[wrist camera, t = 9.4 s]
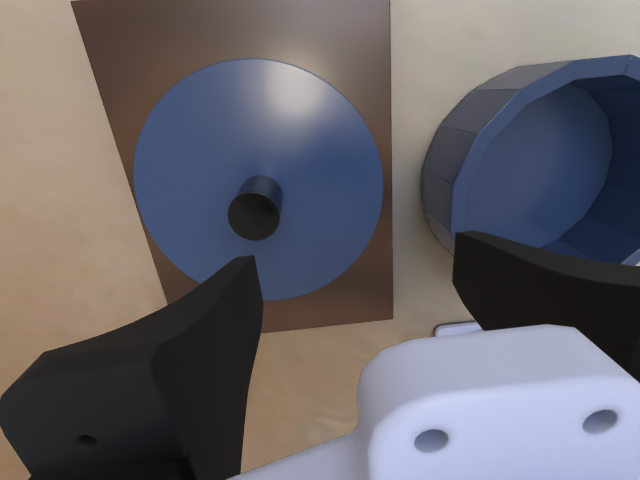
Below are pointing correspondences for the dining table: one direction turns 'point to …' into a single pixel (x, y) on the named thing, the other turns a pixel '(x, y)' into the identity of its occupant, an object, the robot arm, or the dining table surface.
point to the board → (266, 43)
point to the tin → (543, 160)
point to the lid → (259, 175)
